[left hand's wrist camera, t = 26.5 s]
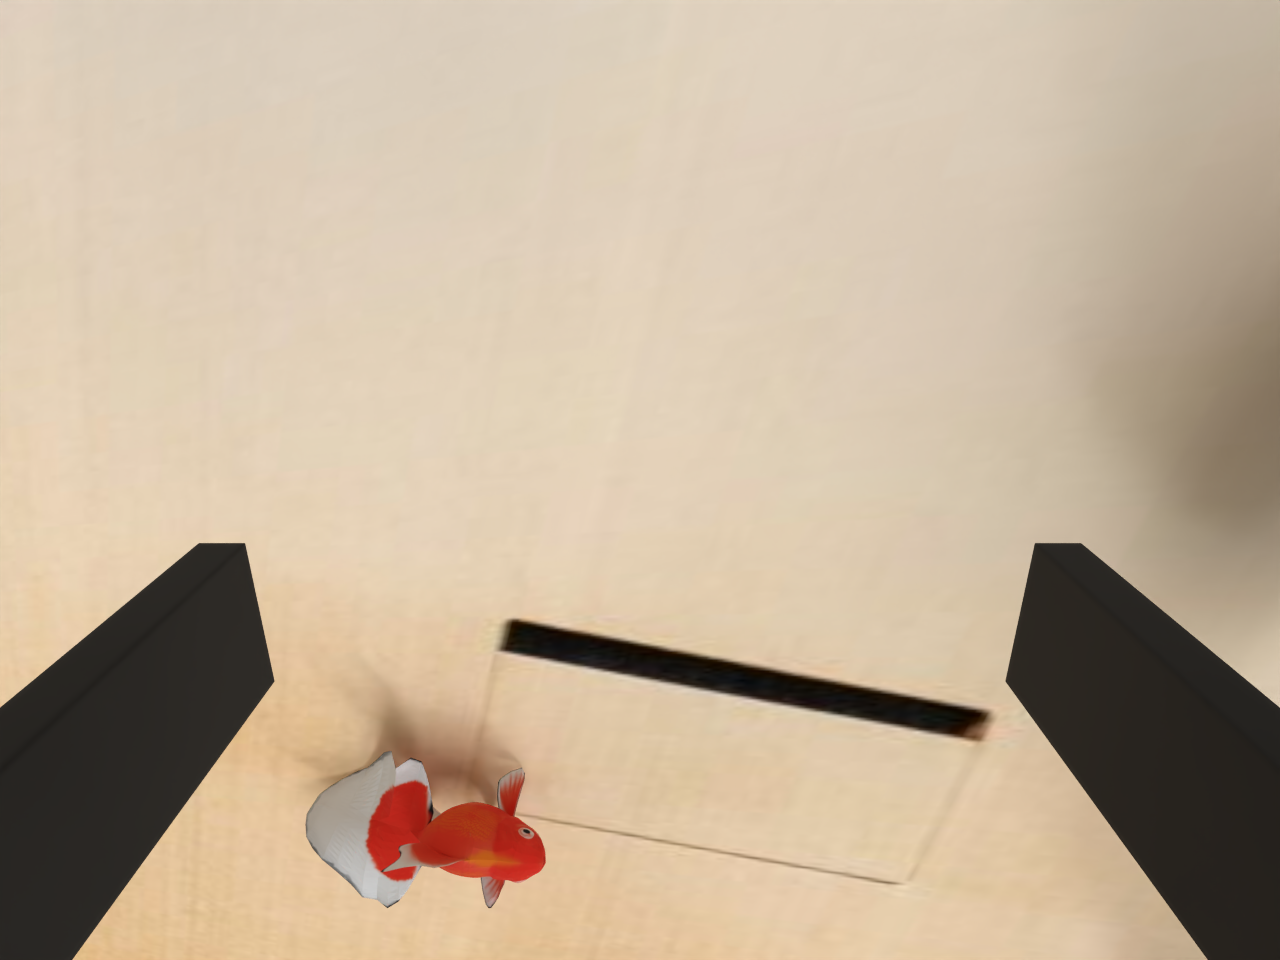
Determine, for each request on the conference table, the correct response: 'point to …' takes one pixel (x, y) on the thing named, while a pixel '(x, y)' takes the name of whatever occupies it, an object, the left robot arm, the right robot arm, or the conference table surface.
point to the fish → (419, 832)
